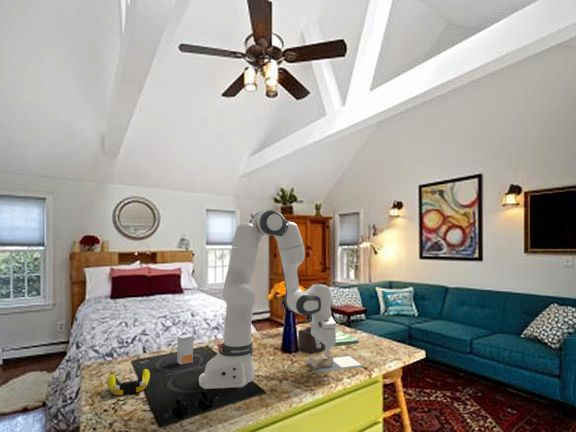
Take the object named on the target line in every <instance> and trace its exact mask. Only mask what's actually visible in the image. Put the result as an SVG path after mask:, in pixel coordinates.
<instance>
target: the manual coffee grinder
mask: <svg viewBox="0 0 576 432" xmlns="http://www.w3.org/2000/svg"><path fill="white" fill-rule="evenodd" d="M311 321H312V316H311V315H306V316H305V320H304V322H307V323H309V322H310V323H311ZM297 332H298V334H297V335H298V336H297V337H298V341H297V342H298V349H299V350H301V351H302V352H307V353H310V354H312V353H317V352H320V351H324V350H325V348H326V347H325V345H324V344H323V343H322V342H320V344H321V348H317V347H316V341H315V337H313V336H312V335H311V326H308V327H307V328H304V329H300V330H298V331H297Z"/></svg>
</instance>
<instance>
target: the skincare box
mask: <svg viewBox="0 0 576 432" xmlns="http://www.w3.org/2000/svg"><path fill="white" fill-rule="evenodd" d="M176 348H177V350H176V351H177V352H176V355H177V357H176V358H177V359H176V363H177V364H179V365H181V366H182V365H185V364H190V363H193V362H194V359H193V358H194V335H192V334H191V333H187V334H181V335H177V347H176Z"/></svg>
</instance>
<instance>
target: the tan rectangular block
mask: <svg viewBox="0 0 576 432" xmlns="http://www.w3.org/2000/svg"><path fill="white" fill-rule="evenodd" d="M309 359H310V364H311V365H312V366H313V367H314V368H319V367H327V366H333V355H331V354H329V355H326V354H325V353H322V354H321V353H320V354H313V355H309Z"/></svg>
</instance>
